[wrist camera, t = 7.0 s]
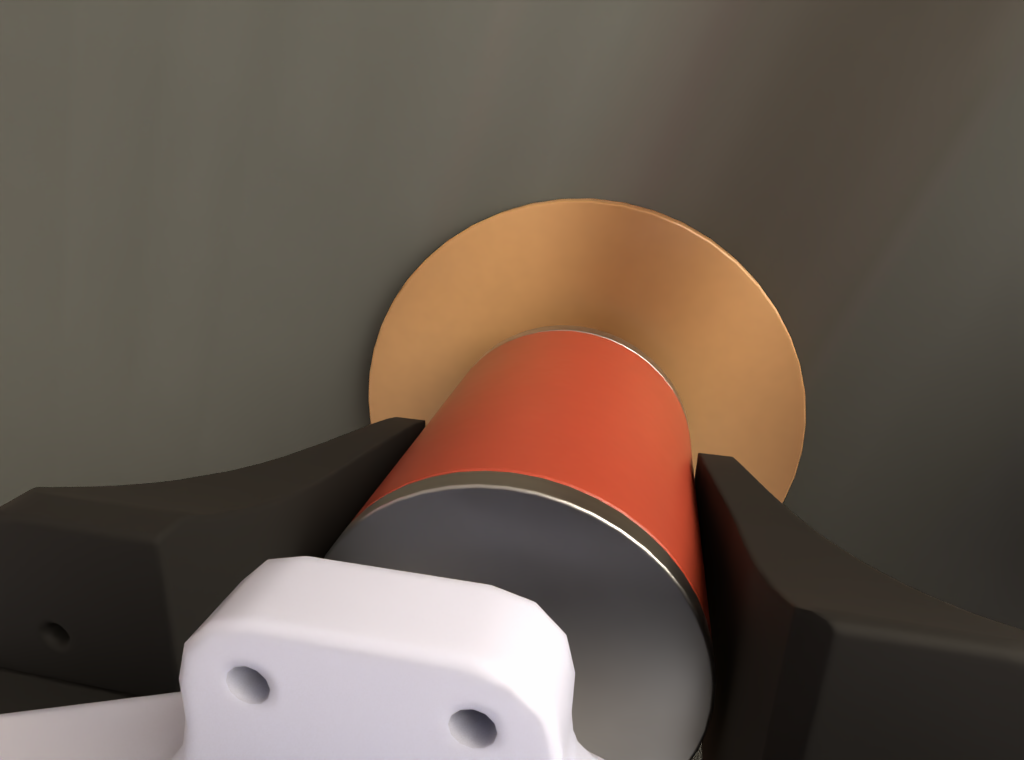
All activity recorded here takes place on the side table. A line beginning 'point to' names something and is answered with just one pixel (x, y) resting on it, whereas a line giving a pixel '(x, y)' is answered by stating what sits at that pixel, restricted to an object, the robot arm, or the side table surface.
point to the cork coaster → (603, 321)
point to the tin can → (568, 525)
